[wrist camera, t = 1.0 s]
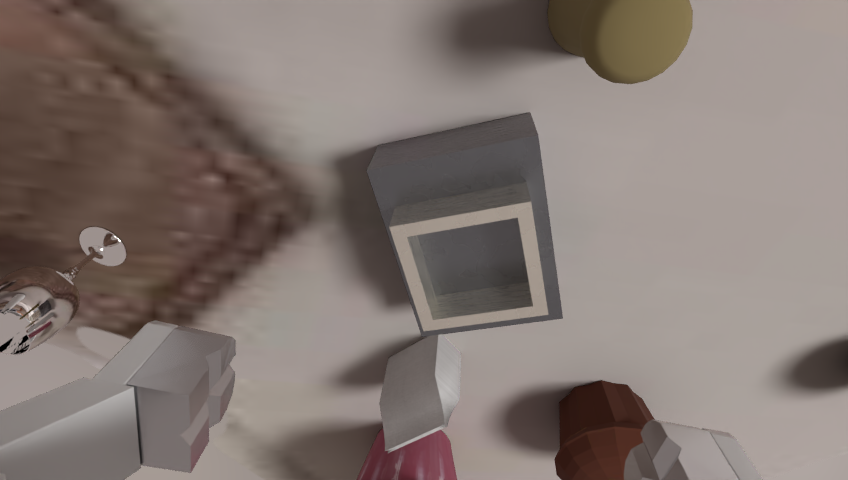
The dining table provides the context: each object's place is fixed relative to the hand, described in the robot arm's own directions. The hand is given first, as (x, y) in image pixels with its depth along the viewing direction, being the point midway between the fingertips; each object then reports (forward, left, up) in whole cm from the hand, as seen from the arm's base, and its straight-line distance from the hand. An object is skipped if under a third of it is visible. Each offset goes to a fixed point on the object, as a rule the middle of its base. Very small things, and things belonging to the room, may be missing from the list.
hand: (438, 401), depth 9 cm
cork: (-2, +9, -30) cm, 31 cm away
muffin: (+38, +7, -30) cm, 49 cm away
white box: (+27, -10, -30) cm, 42 cm away
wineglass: (+8, -37, -30) cm, 48 cm away
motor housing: (+12, -2, -30) cm, 32 cm away
